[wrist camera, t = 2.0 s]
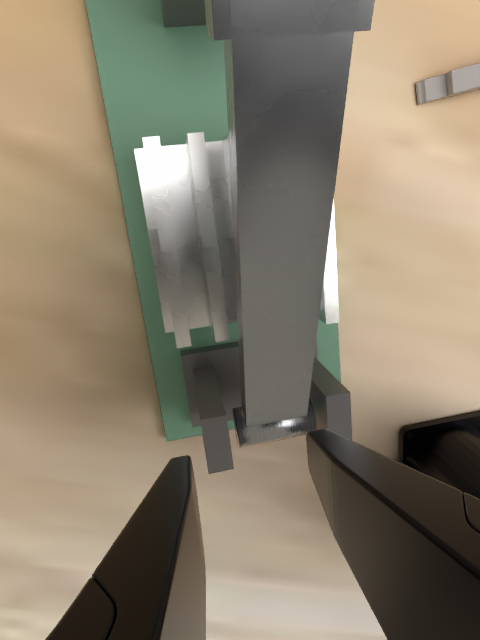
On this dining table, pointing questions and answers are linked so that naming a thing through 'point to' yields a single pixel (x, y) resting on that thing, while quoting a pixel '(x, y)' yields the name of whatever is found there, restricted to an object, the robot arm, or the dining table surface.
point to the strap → (282, 190)
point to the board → (172, 127)
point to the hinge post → (225, 394)
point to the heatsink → (201, 236)
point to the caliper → (449, 84)
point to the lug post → (183, 13)
